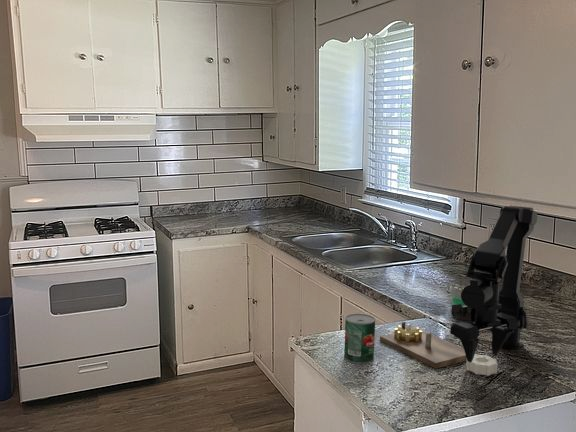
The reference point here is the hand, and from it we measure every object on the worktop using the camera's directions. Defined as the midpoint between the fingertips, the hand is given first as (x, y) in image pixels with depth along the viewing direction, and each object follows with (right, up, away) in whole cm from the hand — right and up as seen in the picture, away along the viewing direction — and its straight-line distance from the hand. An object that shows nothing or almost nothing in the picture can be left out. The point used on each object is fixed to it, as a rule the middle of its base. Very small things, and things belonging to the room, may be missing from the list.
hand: (482, 358), depth 151 cm
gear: (-15, +2, +17) cm, 23 cm away
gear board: (-11, -1, +13) cm, 18 cm away
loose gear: (0, -3, 0) cm, 3 cm away
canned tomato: (-31, -2, +6) cm, 31 cm away
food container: (+7, +3, +40) cm, 41 cm away
